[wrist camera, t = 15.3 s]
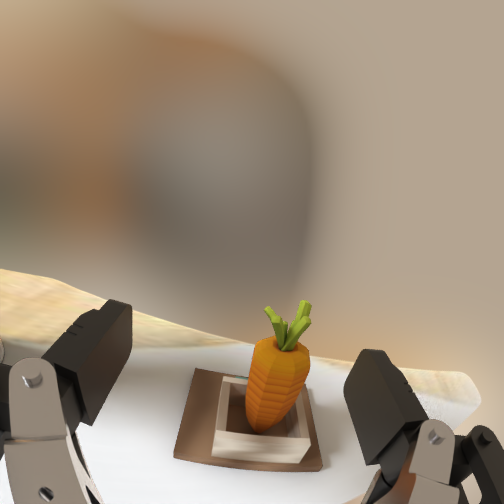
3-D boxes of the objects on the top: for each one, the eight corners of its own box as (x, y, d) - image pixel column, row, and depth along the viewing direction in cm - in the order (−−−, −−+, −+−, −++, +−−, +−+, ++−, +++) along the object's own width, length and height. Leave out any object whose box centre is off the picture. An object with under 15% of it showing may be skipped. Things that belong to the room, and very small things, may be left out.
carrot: (240, 452, 21) (277, 322, 17) (228, 416, 26) (255, 289, 22) (288, 445, 23) (342, 321, 19) (272, 411, 27) (311, 291, 23)
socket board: (173, 457, 20) (173, 432, 19) (194, 374, 32) (198, 346, 31) (318, 471, 21) (336, 447, 19) (302, 390, 33) (313, 363, 32)
